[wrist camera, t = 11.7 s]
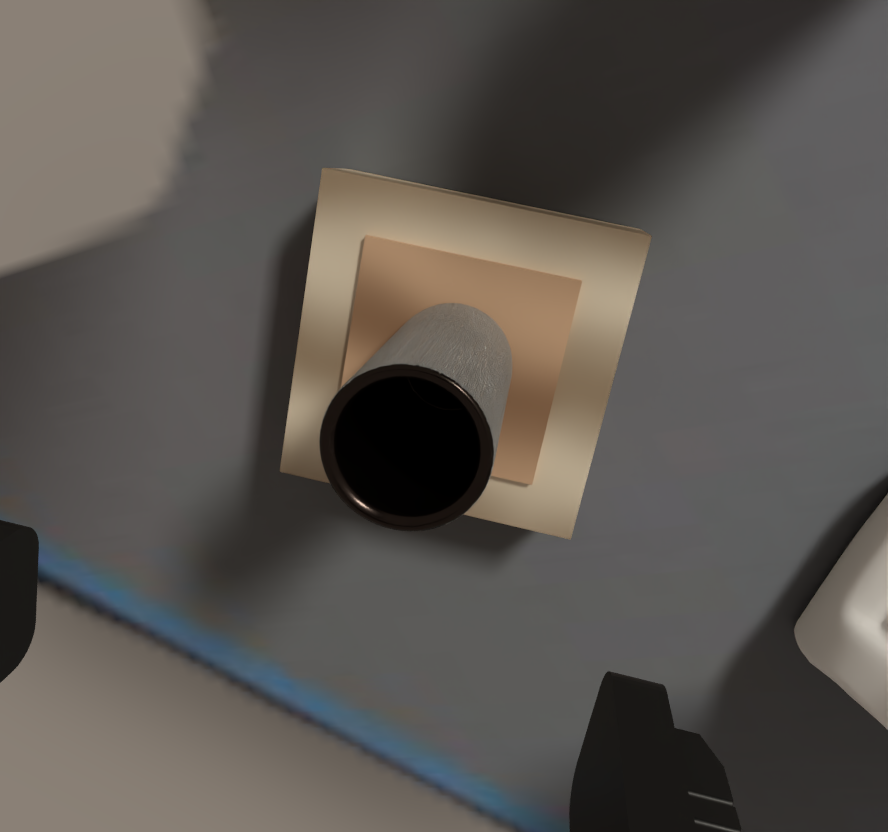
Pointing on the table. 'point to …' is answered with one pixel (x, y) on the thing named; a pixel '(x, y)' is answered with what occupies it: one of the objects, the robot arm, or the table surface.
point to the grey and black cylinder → (420, 420)
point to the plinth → (491, 291)
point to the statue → (854, 619)
